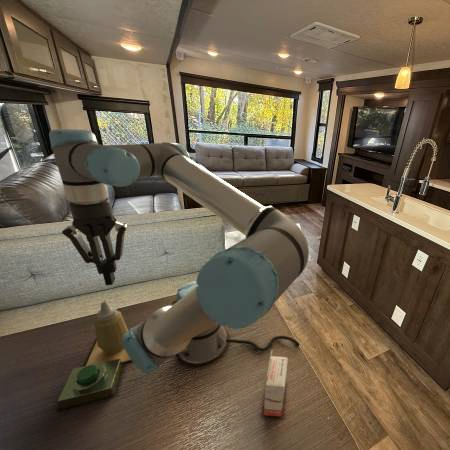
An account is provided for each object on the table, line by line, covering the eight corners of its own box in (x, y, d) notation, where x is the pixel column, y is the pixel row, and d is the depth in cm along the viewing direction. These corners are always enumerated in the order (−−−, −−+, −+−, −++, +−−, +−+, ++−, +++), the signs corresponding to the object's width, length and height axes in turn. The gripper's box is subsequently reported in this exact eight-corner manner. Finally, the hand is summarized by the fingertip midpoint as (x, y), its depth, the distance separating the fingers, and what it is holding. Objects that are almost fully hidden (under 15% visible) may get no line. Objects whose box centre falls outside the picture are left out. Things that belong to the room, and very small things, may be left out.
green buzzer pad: (122, 365, 73) (119, 353, 71) (113, 395, 65) (109, 382, 63) (76, 375, 69) (71, 363, 67) (60, 408, 61) (54, 396, 59)
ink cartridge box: (282, 417, 64) (286, 379, 58) (263, 415, 64) (265, 377, 58) (285, 385, 72) (288, 349, 66) (268, 383, 72) (270, 347, 66)
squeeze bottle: (116, 360, 74) (102, 314, 67) (93, 354, 75) (77, 308, 68) (137, 339, 81) (127, 295, 74) (116, 333, 82) (104, 290, 75)
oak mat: (140, 330, 85) (140, 329, 85) (133, 360, 75) (132, 359, 75) (98, 338, 81) (98, 337, 80) (84, 371, 70) (83, 370, 70)
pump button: (100, 368, 67) (98, 363, 66) (95, 382, 64) (93, 377, 63) (82, 372, 66) (80, 367, 65) (76, 387, 62) (73, 381, 61)
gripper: (126, 194, 63) (141, 271, 73) (61, 195, 59) (86, 277, 68) (118, 203, 57) (135, 286, 66) (44, 205, 52) (74, 294, 62)
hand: (110, 282), depth 67 cm, fingers closed
